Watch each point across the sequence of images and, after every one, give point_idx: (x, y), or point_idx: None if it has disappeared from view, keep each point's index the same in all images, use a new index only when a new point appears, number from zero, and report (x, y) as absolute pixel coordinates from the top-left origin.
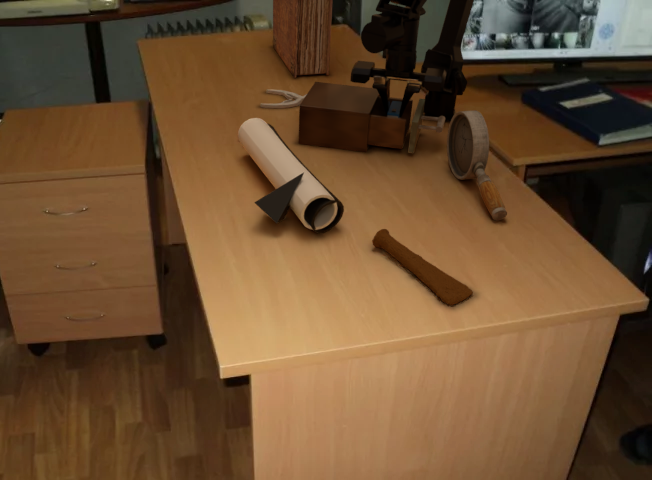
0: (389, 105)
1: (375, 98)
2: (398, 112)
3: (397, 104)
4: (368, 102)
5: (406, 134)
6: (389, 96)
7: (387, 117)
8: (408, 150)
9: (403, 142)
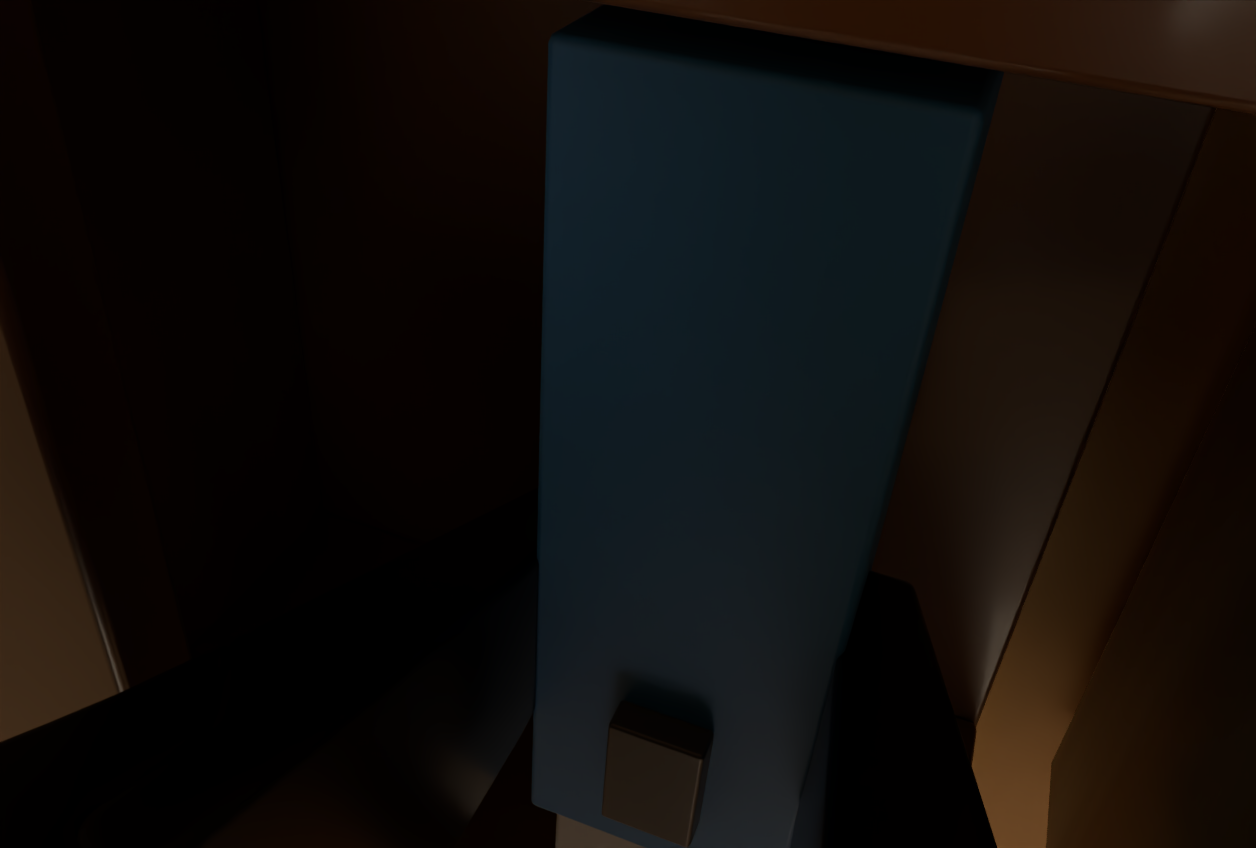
0: (496, 647)
1: (42, 501)
2: (768, 829)
3: (737, 371)
4: (23, 696)
5: (1096, 416)
6: (324, 796)
7: None
8: (1052, 787)
9: (989, 680)
